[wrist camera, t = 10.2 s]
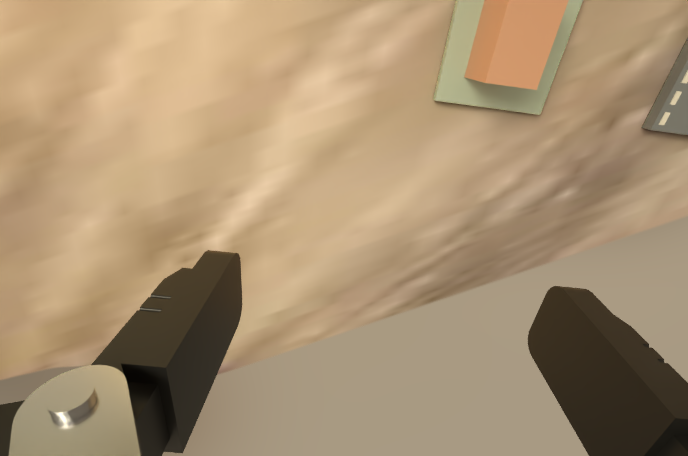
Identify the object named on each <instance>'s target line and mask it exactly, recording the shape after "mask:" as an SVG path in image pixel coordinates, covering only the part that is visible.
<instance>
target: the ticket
mask: <svg viewBox="0 0 688 456" xmlns="http://www.w3.org/2000/svg"><path fill="white" fill-rule="evenodd" d="M642 128H645V129H649V130H654V131H661V132H669V133H676V134H684V135H688V39H687V41H686V43H685V45H684V46H683V48H682V50H681V52H680V54H679V56H678V58H677V60H676V62H675V64H674V66H673V68H672V70H671V72H670V74H669V76H668V78H667V79H666V81H665V83H664V85H663V87H662V89H661V91H660V93H659V95H658V97H657V99H656V101H655V103H654V105H653V107H652V109H651V111H650V112H649V114H648V116H647V118H646V120H645V122H644V124H643V126H642Z"/></svg>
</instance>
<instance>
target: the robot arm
mask: <svg viewBox="0 0 688 456" xmlns="http://www.w3.org/2000/svg"><path fill="white" fill-rule="evenodd" d="M241 311H242V286H241V264H240V257H239V254H238V253H230V252H220V251H210V250H208V251H206V252H205V253H204V254H203V256H202V257H201V258H200V259H199V261H198V262H197V263H196V265H195V266H194V267H193V269H189V268H182V269H180V270H178V271H177V272H175V273H173V274H172V275H170V276H169V277H167V278H165V279H164V280H163V281H162V282H161V283H160V284H159V286H158V287H157V288H156V289H155V290H154V291H153V293H152V294H151V297H148V299H147V300H146V301H145V302H144V303H143V304H142V306H141V307H140V310H139V311H137V312H136V313H135V314H134V315H133V316H132V317H131V319H130V320H129V321H128V322H127V323H126V324H125V326H124V327H123V328H122V329H121V330H120V332H119V333H118V334H117V335H116V336H115V337H114V339H113V340H112V341H111V342H110V343H109V345H108V346H107V347H106V348H105V349H104V350H103V352H102V353H101V354H100V355H99V356H98V358H97V359H96V360H95V361H94V362H93V363H92V364H91V365H89V366H84V367H80V368H76V369H73V370H70V371H67V372H65V373H63V374H61V375H59V376H56V377H55V378H53V379H51V380H49V381H48V382H46V383H45V384H43V385H42V386H41V387H39V388H38V389H36V390H35V391H34V392H33V393H32V394H31V395H30V396H29V397H28V398H27V399H26V400H24V401H20V402H14V403H8V404H3V405H0V456H162V454H163V452H175V453H183V451H184V449H185V447H186V444H187V442H188V440H189V437H190V435H191V433H192V430H193V428H194V426H195V424H196V421H197V419H198V417H199V414H200V412H201V410H202V407H203V405H204V403H205V400H206V398H207V396H208V393H209V391H210V389H211V386H212V384H213V382H214V379H215V377H216V375H217V373H218V370H219V368H220V366H221V364H222V361H223V359H224V357H225V354H226V352H227V350H228V347H229V345H230V343H231V340H232V338H233V336H234V334H235V331H236V329H237V327H238V324H239V321H240V316H241ZM528 346H529V350H530V353H531V356H532V358H533V359H534V361H535V363H536V364H537V366H538V368H539V370H540V371H541V373H542V375H543V377H544V378H545V380H546V382H547V383H548V385H549V387H550V389H551V390H552V392H553V394H554V396H555V397H556V399H557V401H558V403H559V404H560V406H561V408H562V410H563V411H564V413H565V415H566V416H567V418H568V420H569V422H570V423H571V425H572V427H573V429H574V430H575V432H576V434H577V436H578V437H579V439H580V441H581V442H582V444H583V446H584V448H585V449H586V451H587V453H588V455H589V456H688V383H687V382H686V381H685V380H684V379H683V378H682V377H681V376H680V375H679V374H678V373H677V372H676V371H675V370H674V369H673V368H672V367H671V366H670V365H669V364H668V363H664V359H663V358H662V357H661V356H660V355H659V354H658V353H657V352H656V351H655V350H654V349H653V348H649V344H648V343H647V342H646V341H645V340H644V339H643V338H642V337H641V336H640V335H639V334H638V333H637V332H636V331H635V330H634V329H633V328H632V327H631V326H629V325H628V324H627V323H625V322H623V321H622V320H621V319H619V318H618V317H616V316H615V315H613V314H612V313H611V312H610V311H609V310H608V309H607V308H606V307H605V306H604V305H603V304H602V303H601V301H600V300H598V298H596V296H595V295H594V294H593V293H592V292H590V291H589V290H587V289H580V288H570V287H560V286H554V287H552V288H550V290H548V292H547V294H546V296H545V298H544V300H543V302H542V304H541V306H540V309H539V311H538V313H537V315H536V317H535V320H534V322H533V324H532V326H531V329H530V331H529V335H528Z"/></svg>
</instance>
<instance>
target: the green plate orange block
mask: <svg viewBox="0 0 688 456" xmlns="http://www.w3.org/2000/svg"><path fill="white" fill-rule="evenodd" d="M582 2H583V0H456V2H455V6H454V11H453V15H452V19H451V24H450V28H449V32H448V37H447V41H446V45H445V50H444V54H443V59H442V63H441V67H440V72H439V76H438V80H437V85H436V89H435V93H434V98H433V100H435V101H442V102H449V103H456V104H464V105H471V106H478V107H486V108H493V109H501V110H508V111H515V112H523V113H530V114H537V115H540V114H541V111H542V109H543V106H544V103H545V101H546V98H547V95H548V93H549V90H550V87H551V85H552V82H553V79H554V77H555V74H556V71H557V69H558V66H559V63H560V61H561V58H562V55H563V53H564V50H565V47H566V45H567V42H568V39H569V37H570V34H571V31H572V29H573V26H574V23H575V21H576V18H577V15H578V12H579V10H580V7H581V4H582Z"/></svg>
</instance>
